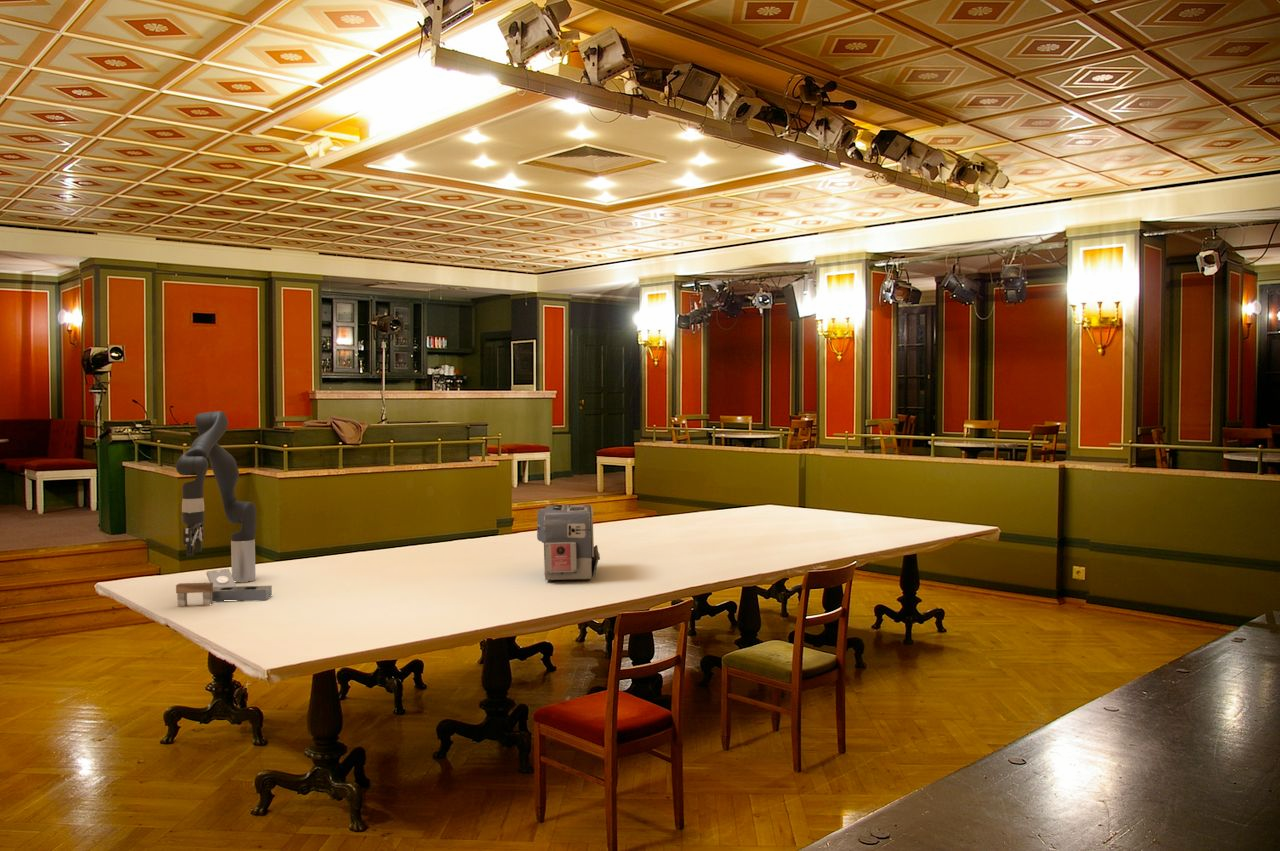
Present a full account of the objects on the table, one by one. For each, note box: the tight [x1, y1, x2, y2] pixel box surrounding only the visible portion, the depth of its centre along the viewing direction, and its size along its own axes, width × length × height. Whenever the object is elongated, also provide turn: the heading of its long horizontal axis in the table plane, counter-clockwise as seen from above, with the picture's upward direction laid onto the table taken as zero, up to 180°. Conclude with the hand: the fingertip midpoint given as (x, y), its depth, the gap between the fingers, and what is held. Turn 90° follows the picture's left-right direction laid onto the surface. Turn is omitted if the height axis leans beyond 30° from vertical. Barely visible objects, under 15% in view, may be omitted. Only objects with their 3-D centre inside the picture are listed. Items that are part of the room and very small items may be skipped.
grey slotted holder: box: [212, 585, 273, 601], centre depth 362 cm, size 8×22×4 cm, turn 96°
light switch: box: [206, 568, 237, 587], centre depth 376 cm, size 8×6×14 cm
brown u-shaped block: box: [175, 582, 213, 607], centre depth 351 cm, size 3×12×8 cm, turn 96°
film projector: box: [536, 504, 601, 583], centre depth 403 cm, size 39×29×30 cm
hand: (194, 553), depth 351 cm, fingers open, 8 cm apart
